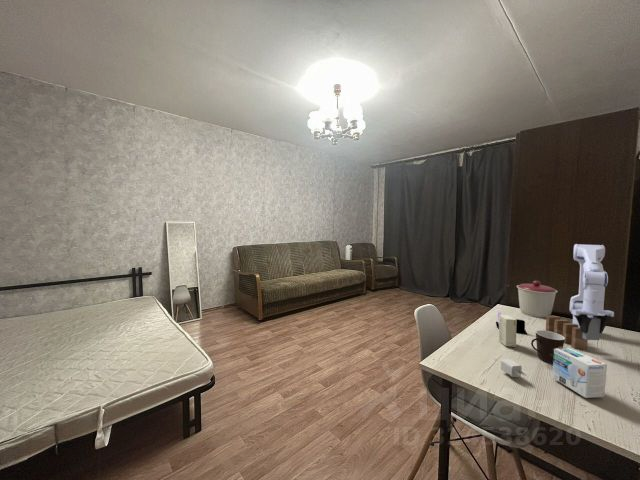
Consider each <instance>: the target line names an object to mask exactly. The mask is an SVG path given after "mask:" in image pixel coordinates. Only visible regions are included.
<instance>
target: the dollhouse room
mask: <svg viewBox="0 0 640 480" xmlns="http://www.w3.org/2000/svg"><path fill="white" fill-rule="evenodd" d="M497 312H498V315H497V321H496V322H495V325H496V328H498V329H499V315H502V313H501V311H497ZM515 319H516V320H517V327H516V334H519V335H528V333H527V332H528V331H526V322H525V320H523V319H519V318H518V319H517V318H515ZM498 329H497V330H498Z"/></svg>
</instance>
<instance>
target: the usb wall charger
mask: <svg viewBox="0 0 640 480" xmlns="http://www.w3.org/2000/svg"><path fill="white" fill-rule="evenodd" d="M500 370H501V371H503V372H504V373H506V374H507V375H509V377H512V378H515V377H522V375H523V376H525V377H527V374H526V373H525V372H523V371H522V365H520V364H519V363H518V362H516V361H514V360H512V359H511V358H504V359H501V360H500Z"/></svg>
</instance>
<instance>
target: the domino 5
mask: <svg viewBox="0 0 640 480" xmlns="http://www.w3.org/2000/svg"><path fill="white" fill-rule="evenodd" d="M589 318H591V319H592V320H591V322H590V324H589V328H588V333H584V332H583V336H582V338H583V339H585V340H588V341H600V335H601V334H600V322H601V319H599V318H593V317H589Z"/></svg>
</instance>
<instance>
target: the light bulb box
mask: <svg viewBox="0 0 640 480" xmlns="http://www.w3.org/2000/svg"><path fill="white" fill-rule="evenodd" d="M607 369H608V364H607V363H605V362H603V361H600V360H598V359H596V358H594V357H591V356H590V355H587V354H585V353H583V352H581V351H578V350H577V349H574V348H572V347H565V348H564V347H563V348H561V349H554V360H553V363H552V374H551V375H552V376H551V377H552V378H553V379H554V380H556V381H557V382H559V383H561V384H562V385H564V386H565V387H568V388H569V389H571V390H572V391H573V392H576V394H579V395H580V396H582V397H583V398H585V399H588V398H592V399H593V398H604V397H605V394H606V382H607Z"/></svg>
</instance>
